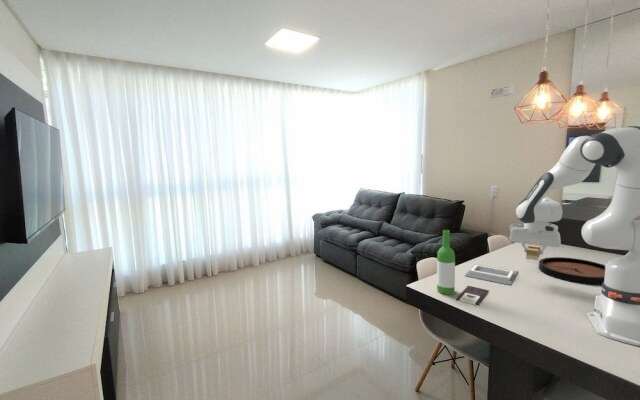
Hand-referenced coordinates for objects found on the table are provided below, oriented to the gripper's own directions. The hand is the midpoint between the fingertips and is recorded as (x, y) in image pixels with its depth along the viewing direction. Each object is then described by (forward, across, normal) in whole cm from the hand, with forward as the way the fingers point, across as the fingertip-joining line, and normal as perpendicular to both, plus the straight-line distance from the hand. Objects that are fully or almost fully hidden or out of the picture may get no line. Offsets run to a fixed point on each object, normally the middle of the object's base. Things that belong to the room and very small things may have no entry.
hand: (533, 253), depth 145 cm
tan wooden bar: (+2, 0, 0) cm, 2 cm away
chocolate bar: (+17, -19, -31) cm, 40 cm away
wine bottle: (+16, -30, -34) cm, 48 cm away
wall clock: (+16, +16, +28) cm, 36 cm away
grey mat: (+15, -18, +2) cm, 24 cm away
